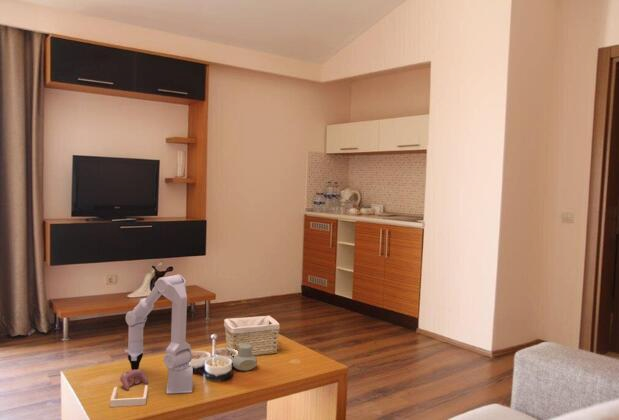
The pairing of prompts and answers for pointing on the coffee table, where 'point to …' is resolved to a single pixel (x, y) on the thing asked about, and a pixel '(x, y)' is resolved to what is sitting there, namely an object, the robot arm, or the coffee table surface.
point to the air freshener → (244, 358)
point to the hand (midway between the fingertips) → (135, 372)
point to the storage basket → (253, 333)
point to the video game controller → (133, 374)
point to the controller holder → (128, 399)
